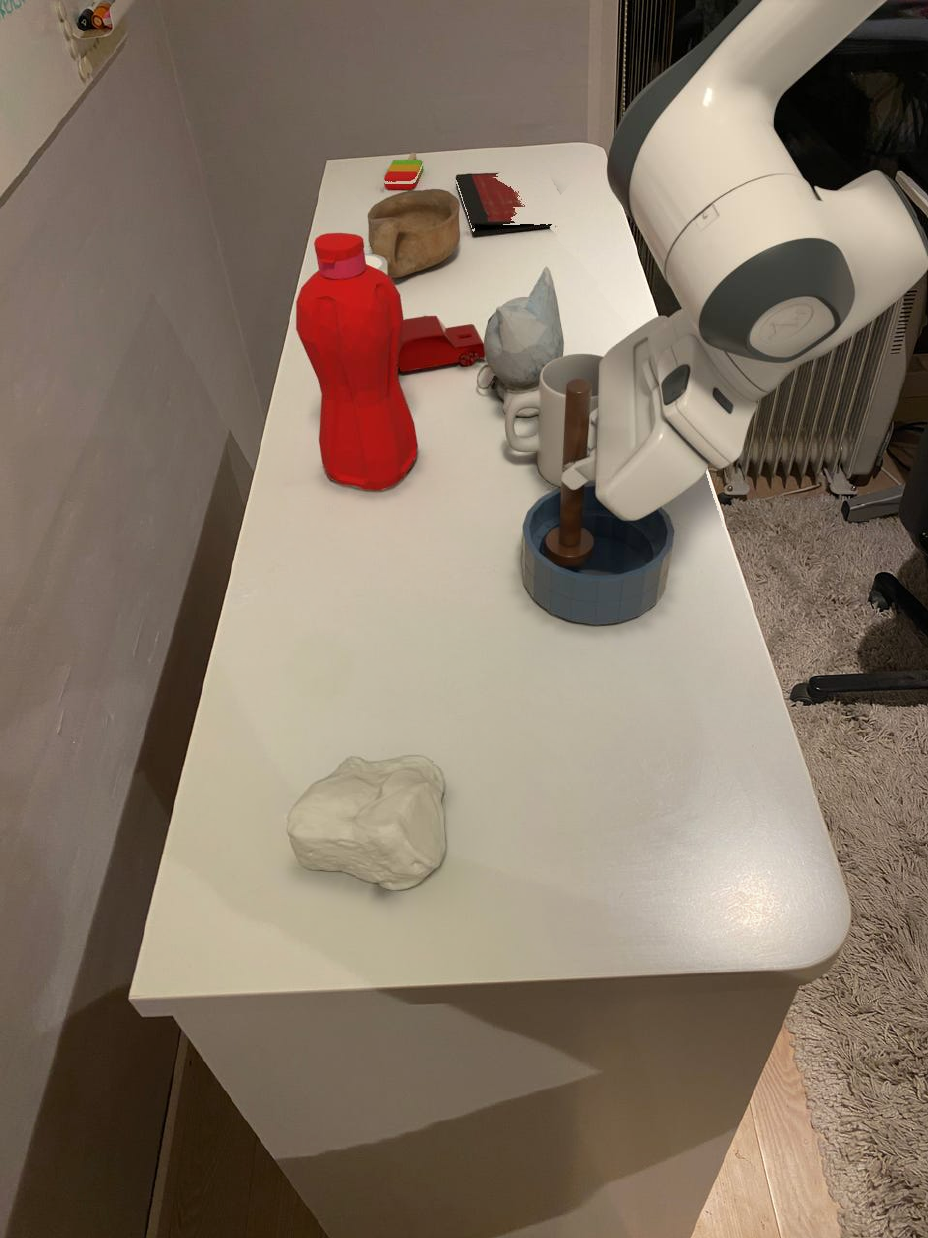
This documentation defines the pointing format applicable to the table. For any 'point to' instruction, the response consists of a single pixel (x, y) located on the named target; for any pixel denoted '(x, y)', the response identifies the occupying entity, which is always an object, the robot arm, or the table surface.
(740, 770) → the table surface
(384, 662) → the table surface
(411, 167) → the popsicle
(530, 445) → the mug
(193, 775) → the table surface
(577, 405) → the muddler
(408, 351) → the toy car
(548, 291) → the figurine
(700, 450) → the robot arm
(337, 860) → the decorative stone
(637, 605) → the stir bowl
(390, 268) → the bowl
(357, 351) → the water bottle
